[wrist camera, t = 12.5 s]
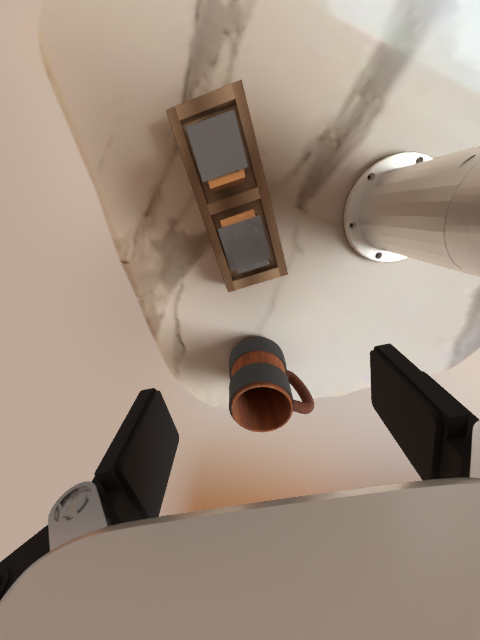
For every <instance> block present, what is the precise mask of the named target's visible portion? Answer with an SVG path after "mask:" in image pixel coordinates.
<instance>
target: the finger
mask: <svg viewBox="0 0 480 640" xmlns="http://www.w3.org/2000/svg"><path fill="white" fill-rule="evenodd" d="M186 130H187V133H188V136H189V140H190V143H191V146H192V149H193V152H194V156H195V159H196V162H197V165H198V168H199V172H200V175H201V178H202V181H203V183H204V184H206V185H207V186H208V187H210V189H211V190H212V191H214V192H216V191H219V190H222V189H225V188H228V187H231V186H234V185H237V184H240V183H243V182H245V179H246V177H247V171H248V164H247V160H246V156H245V152H244V147H243V143H242V139H241V135H240V131H239V127H238V123H237V119H236V115H235V111H234V109H233V110H231V111H228V112H225V113H223V114H220V115H217V116H215V117H212V118H209V119H207V120H204V121H201V122H199V123H196V124H193V125H190V126H188V127H186Z"/></svg>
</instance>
